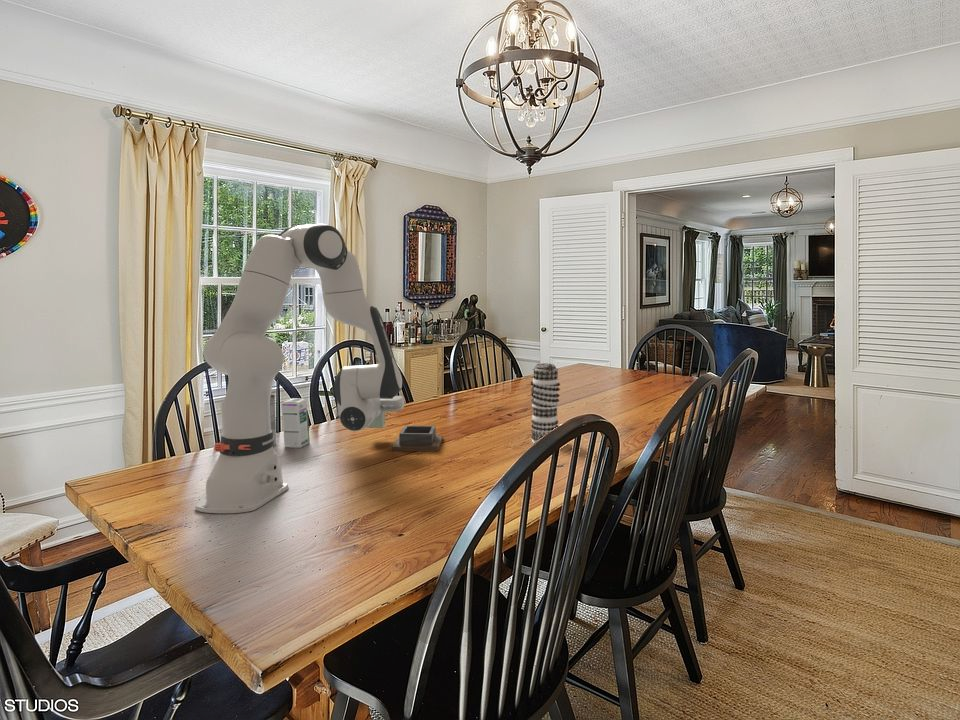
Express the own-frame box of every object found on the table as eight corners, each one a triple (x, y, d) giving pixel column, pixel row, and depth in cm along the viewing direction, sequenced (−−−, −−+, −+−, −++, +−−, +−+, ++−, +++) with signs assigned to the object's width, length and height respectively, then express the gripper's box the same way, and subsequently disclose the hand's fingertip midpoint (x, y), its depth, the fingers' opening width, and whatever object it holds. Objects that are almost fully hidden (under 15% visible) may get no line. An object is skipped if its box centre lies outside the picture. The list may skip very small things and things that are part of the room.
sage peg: (382, 428, 182) (381, 381, 180) (366, 427, 183) (365, 381, 181) (385, 424, 187) (384, 379, 185) (370, 424, 188) (369, 378, 186)
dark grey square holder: (437, 451, 173) (437, 435, 173) (391, 450, 174) (391, 435, 173) (442, 438, 187) (442, 424, 186) (400, 438, 188) (399, 424, 187)
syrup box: (301, 448, 177) (298, 402, 175) (283, 447, 178) (281, 401, 176) (310, 443, 182) (308, 398, 180) (293, 442, 183) (290, 397, 181)
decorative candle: (551, 447, 177) (553, 367, 173) (525, 443, 181) (525, 365, 178) (563, 440, 184) (565, 363, 181) (537, 436, 189) (538, 361, 186)
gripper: (400, 397, 170) (408, 388, 184) (332, 396, 171) (345, 387, 185) (400, 417, 171) (408, 408, 185) (333, 416, 172) (345, 407, 185)
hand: (376, 397), depth 185 cm, fingers closed on sage peg, 5 cm apart
